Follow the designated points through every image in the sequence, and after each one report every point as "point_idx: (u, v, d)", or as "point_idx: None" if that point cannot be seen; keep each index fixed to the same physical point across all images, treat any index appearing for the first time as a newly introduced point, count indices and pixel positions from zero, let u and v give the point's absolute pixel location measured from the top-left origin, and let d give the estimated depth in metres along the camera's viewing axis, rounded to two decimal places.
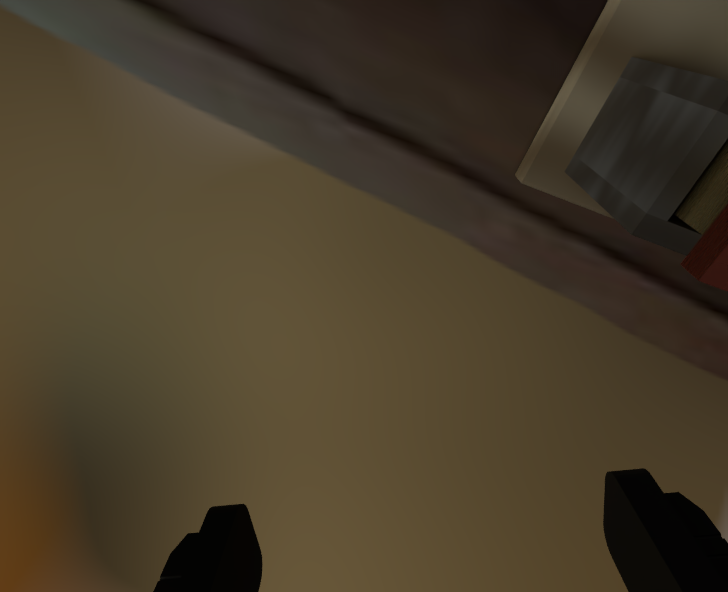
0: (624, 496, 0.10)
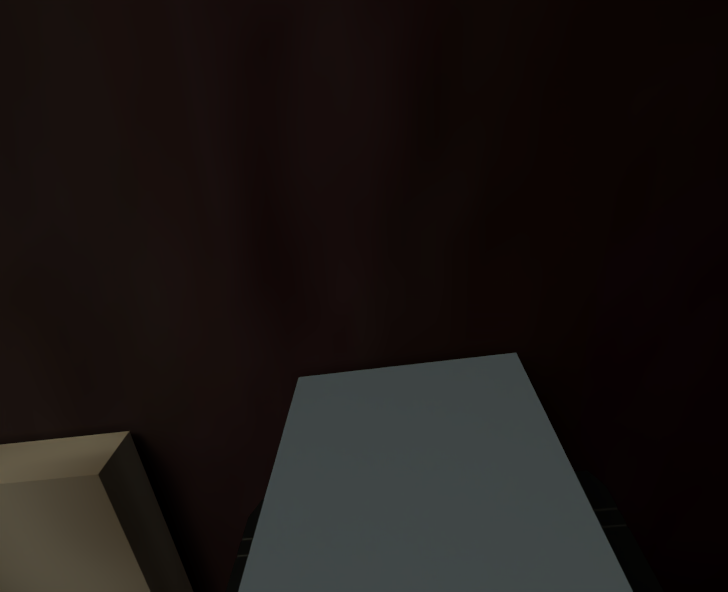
0: None
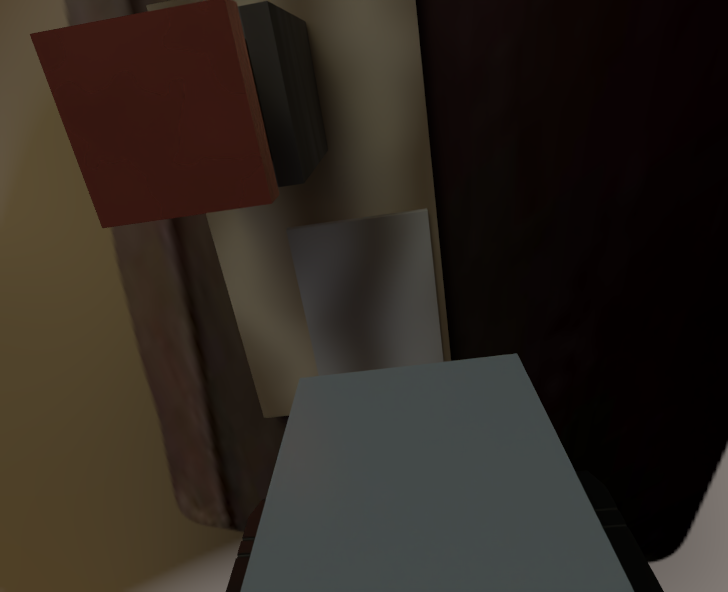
0: None
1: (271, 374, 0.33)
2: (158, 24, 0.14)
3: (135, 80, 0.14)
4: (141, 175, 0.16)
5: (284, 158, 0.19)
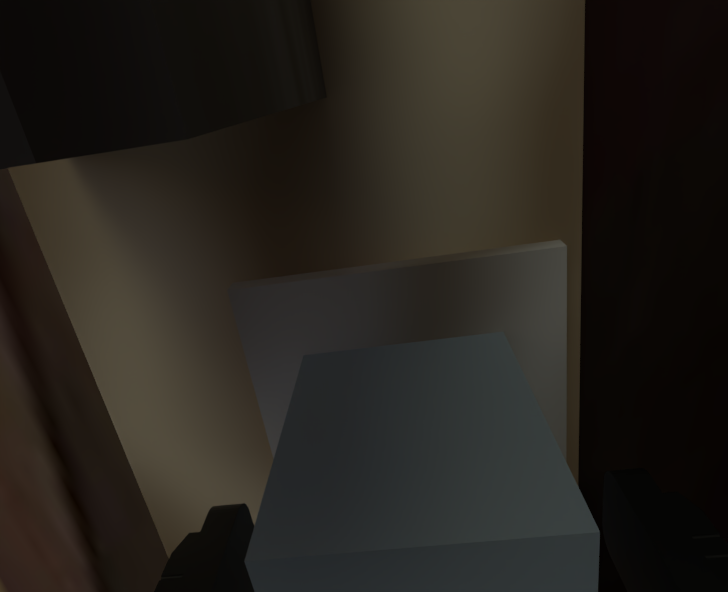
0: (623, 495, 0.10)
1: None
2: None
3: None
4: None
5: None
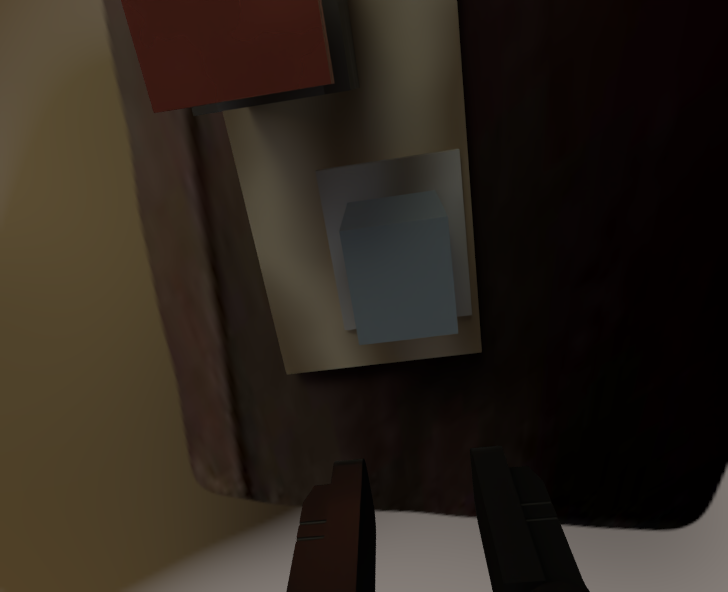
0: (475, 469, 0.11)
1: (295, 327, 0.33)
2: None
3: None
4: (197, 52, 0.15)
5: (331, 62, 0.19)
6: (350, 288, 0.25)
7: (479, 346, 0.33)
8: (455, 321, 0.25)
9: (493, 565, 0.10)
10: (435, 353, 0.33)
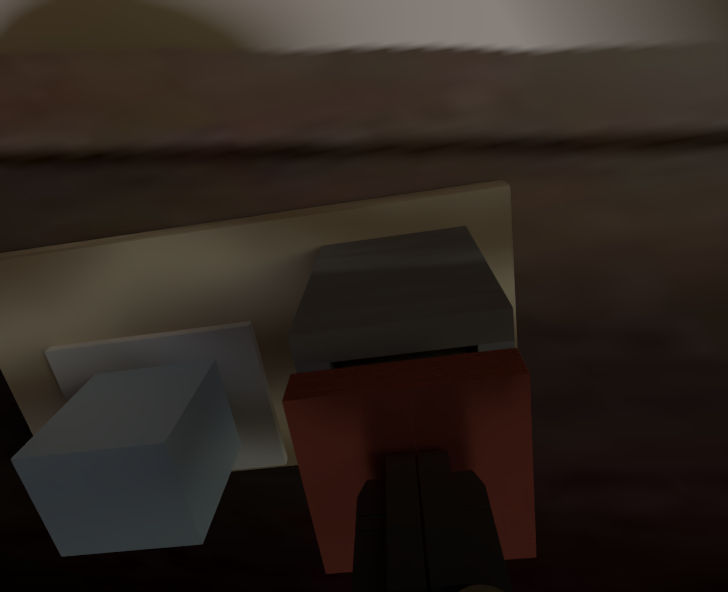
0: None
1: (31, 284, 0.23)
2: (520, 501, 0.13)
3: (465, 470, 0.12)
4: (355, 458, 0.12)
5: None
6: (90, 451, 0.19)
7: None
8: (76, 553, 0.21)
9: None
10: None
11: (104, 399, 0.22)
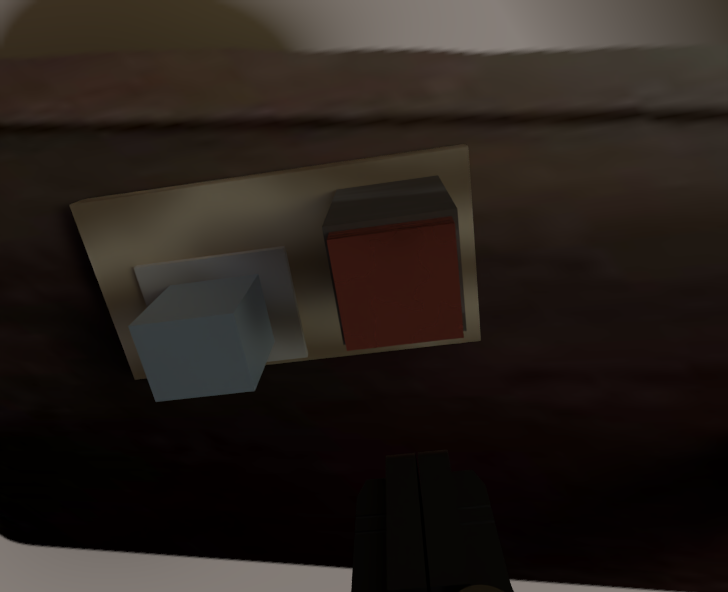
0: None
1: (126, 217, 0.32)
2: (453, 301, 0.23)
3: (423, 281, 0.23)
4: (364, 274, 0.23)
5: None
6: (182, 320, 0.28)
7: (140, 377, 0.37)
8: (166, 399, 0.30)
9: None
10: (125, 343, 0.36)
11: (183, 296, 0.31)
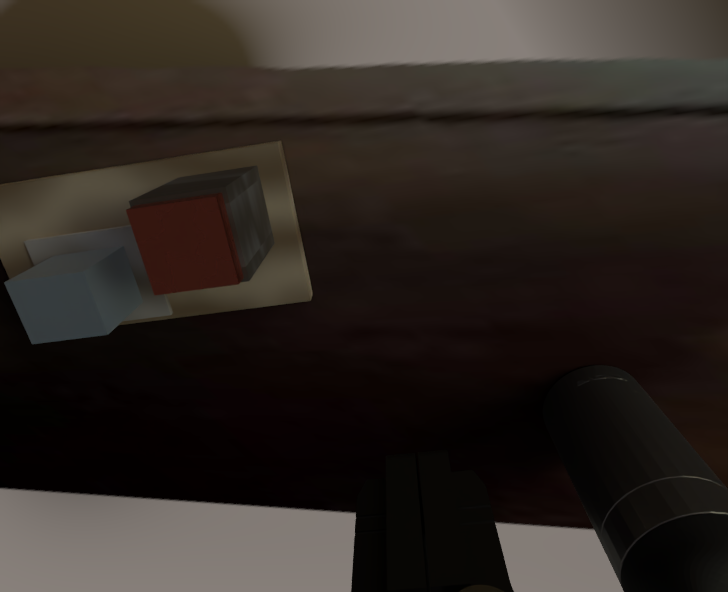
0: None
1: (16, 200, 0.40)
2: (225, 255, 0.31)
3: (201, 241, 0.31)
4: (157, 235, 0.31)
5: None
6: (45, 277, 0.36)
7: None
8: (40, 342, 0.38)
9: None
10: None
11: (57, 262, 0.39)
